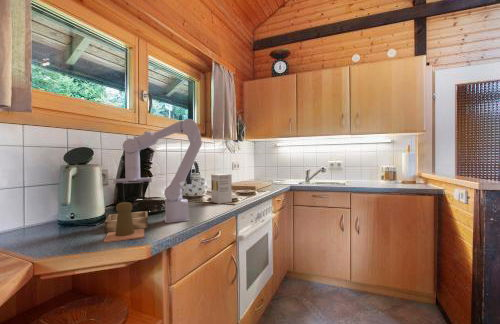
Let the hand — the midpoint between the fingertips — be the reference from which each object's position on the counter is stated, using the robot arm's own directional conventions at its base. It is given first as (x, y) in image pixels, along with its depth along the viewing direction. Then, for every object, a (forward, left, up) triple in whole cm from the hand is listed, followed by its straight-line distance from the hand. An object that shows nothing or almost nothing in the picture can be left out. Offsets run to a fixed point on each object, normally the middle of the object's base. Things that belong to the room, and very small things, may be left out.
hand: (133, 200), depth 106 cm
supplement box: (-47, -30, -10) cm, 57 cm away
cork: (+2, +18, -9) cm, 20 cm away
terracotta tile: (+2, +19, -9) cm, 21 cm away
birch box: (+2, +5, -9) cm, 11 cm away
